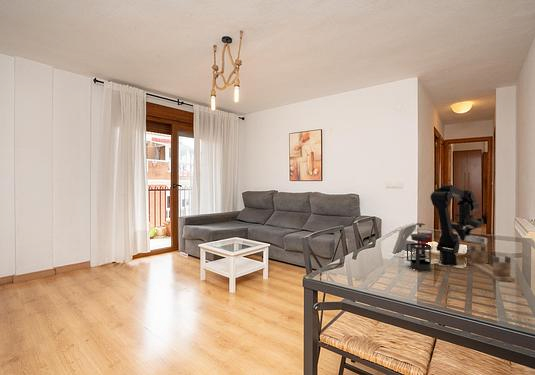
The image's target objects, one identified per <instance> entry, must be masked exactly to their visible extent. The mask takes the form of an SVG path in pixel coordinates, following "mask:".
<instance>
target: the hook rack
mask: <svg viewBox="0 0 535 375" xmlns="http://www.w3.org/2000/svg"><path fill="white" fill-rule="evenodd" d="M492 259H493V260H492V261H493V264H492V265H493V266H491V265H490V264H487V263H486V246H483V245H481V246H480V250H476V246H474V245H470V260H467V264H468V265H470V266H471V267H473V268H474V269H476V270H478V271H479V272H481V273H483V274H484V275H487V276H489V277H490V278H492V279H493V280H495V281H496V282H504V283H505V282H508V281H512V282H511V283H514V282H516V280H515V279H516V278H515V277H513V276H512V275H511V265H512V264H511V262H512V260H511V257H510V256H507V255H505V256H504V261H500V257H499V256H497V255H493V258H492Z"/></svg>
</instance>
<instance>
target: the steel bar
mask: <svg viewBox="0 0 535 375" xmlns="http://www.w3.org/2000/svg"><path fill="white" fill-rule="evenodd" d="M453 233H455V234H457V235H458V233H457V232H454V231H453ZM458 239H459V240H461V239H460V237H459V235H458ZM464 241H467V242H473V243H478V244H481V245H482V244H483V245H487V244H488V238H487V237H482V236H477V235H476V236H475V235H471V234H469V235H467V234H465V237H464Z"/></svg>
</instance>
